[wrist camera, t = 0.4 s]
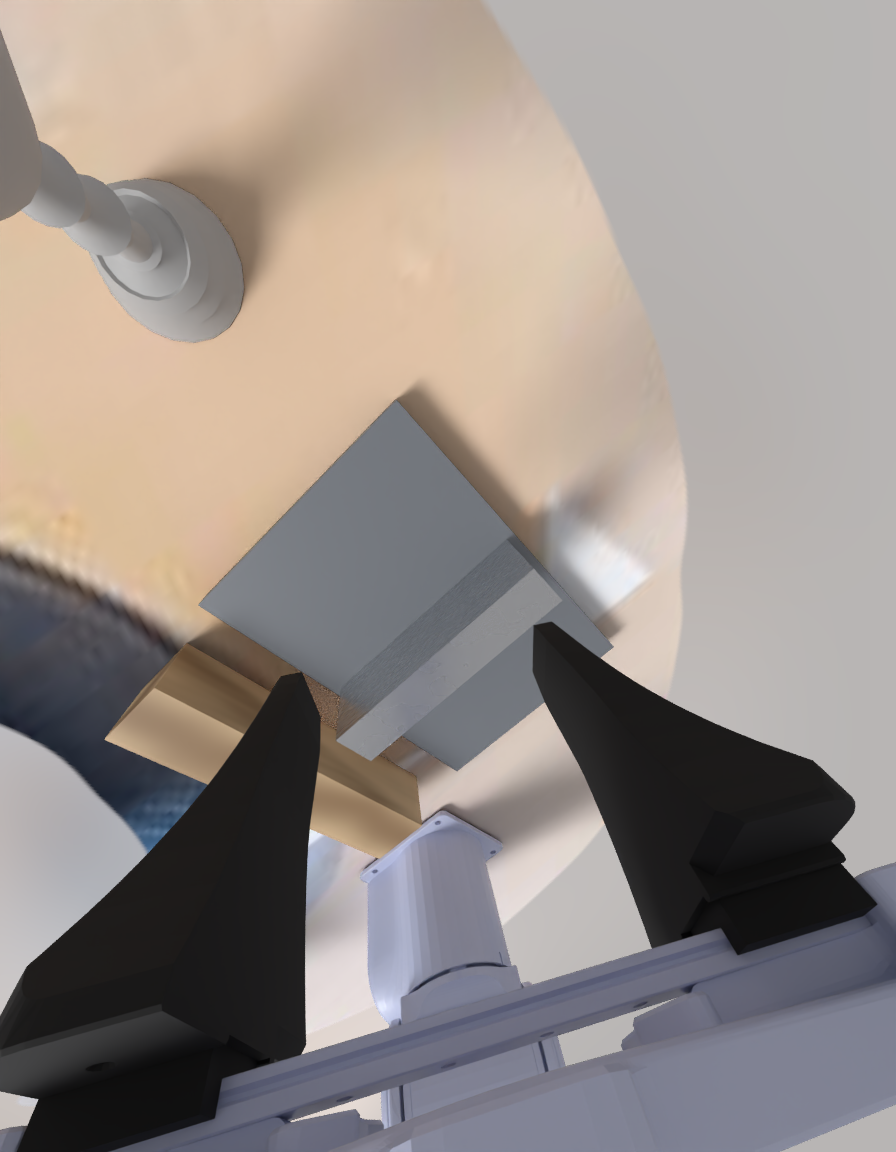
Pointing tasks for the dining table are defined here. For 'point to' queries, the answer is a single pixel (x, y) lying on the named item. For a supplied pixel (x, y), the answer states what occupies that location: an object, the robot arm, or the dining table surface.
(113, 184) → the chalice
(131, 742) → the oak bar
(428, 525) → the slate base plate
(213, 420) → the dining table surface
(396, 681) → the steel ridge
